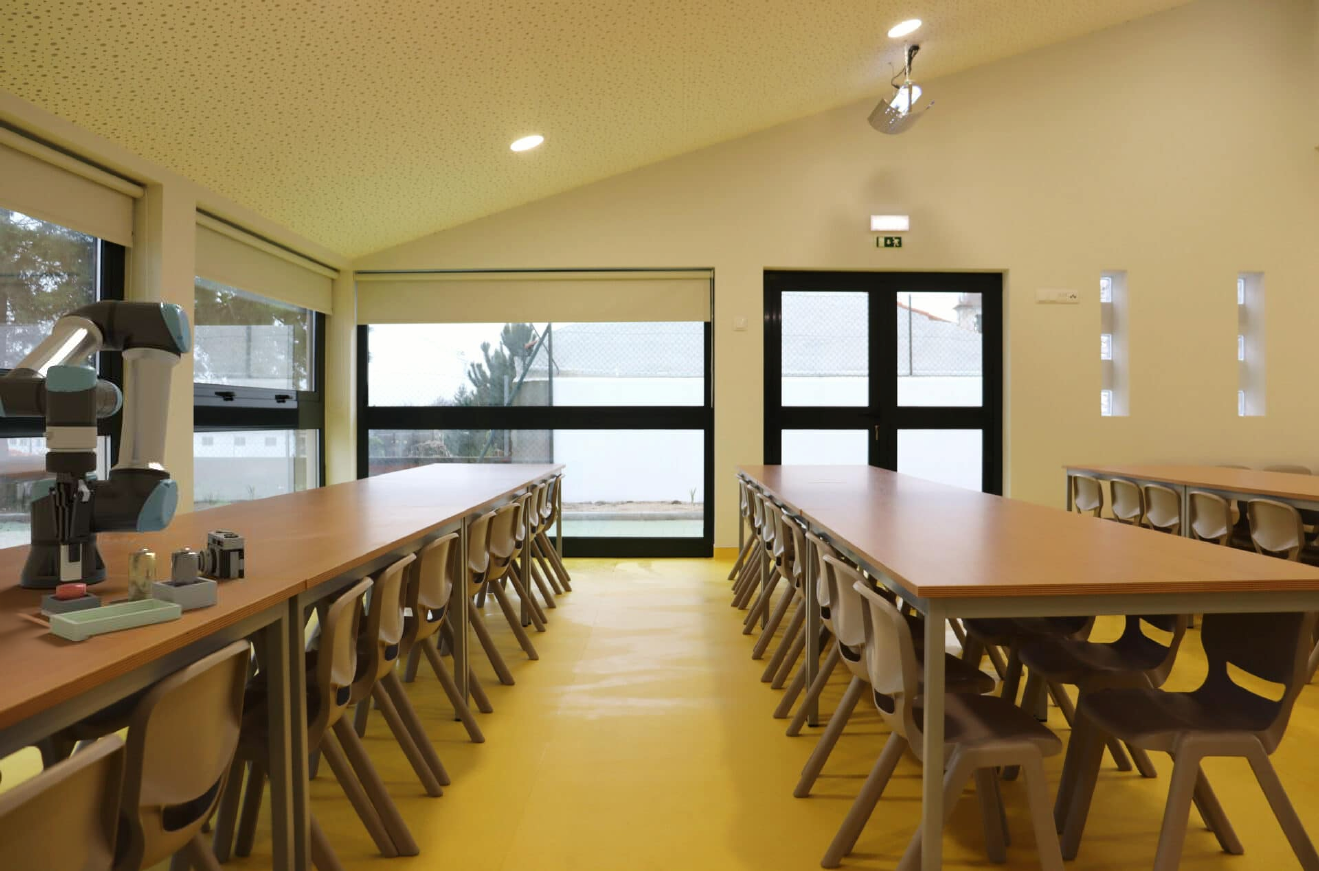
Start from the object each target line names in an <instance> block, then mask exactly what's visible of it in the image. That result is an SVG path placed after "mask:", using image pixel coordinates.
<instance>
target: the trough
mask: <svg viewBox="0 0 1319 871" xmlns="http://www.w3.org/2000/svg"><path fill="white" fill-rule="evenodd" d="M178 619H182V611H181V605H178V604H174V603H170V602H167V601H163V600H160V599H156V598H153V599H147V600H141V601H135V602H129V601H128V602H125V603H124V602H122V603H119V604H118V603H117V604H113V605H111V604H110V605H107V606H101V607H99V608H93V609H87V610H81V611H75V612H69V613H63V614H57V615H51V616H50V617H49V633H51V634H54V635H56V636H59V637H61V638H65V639H67V640H69V641H73V642H79V641H85V640H89V639H93V637H92V636H94V635H98V634H104V633H108V632H109V633H110V632H115V631H120V630H124V629H130V628H135V627H141V626H145V625H151V624H156V623H162V622H167V621H173V620H178Z"/></svg>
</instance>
